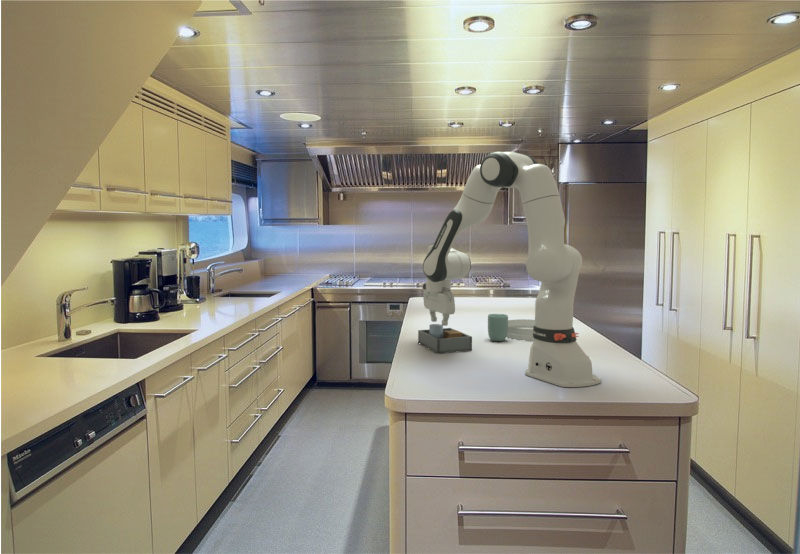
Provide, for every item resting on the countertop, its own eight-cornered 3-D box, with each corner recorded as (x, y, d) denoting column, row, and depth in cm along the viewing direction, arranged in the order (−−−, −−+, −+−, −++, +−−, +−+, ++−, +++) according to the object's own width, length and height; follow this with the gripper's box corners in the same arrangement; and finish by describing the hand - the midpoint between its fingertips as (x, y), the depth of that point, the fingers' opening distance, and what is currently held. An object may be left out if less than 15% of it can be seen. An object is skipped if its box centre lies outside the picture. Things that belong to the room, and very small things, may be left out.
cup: (506, 338, 209) (507, 313, 208) (508, 342, 201) (509, 317, 200) (486, 338, 210) (487, 313, 209) (488, 342, 202) (488, 316, 201)
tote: (471, 350, 189) (472, 336, 189) (437, 353, 185) (437, 339, 184) (450, 340, 206) (450, 327, 205) (418, 343, 201) (418, 330, 200)
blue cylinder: (444, 344, 194) (445, 326, 194) (432, 345, 193) (432, 327, 192) (439, 341, 199) (439, 323, 198) (427, 342, 197) (427, 324, 197)
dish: (563, 342, 204) (563, 329, 203) (506, 342, 204) (506, 329, 204) (548, 330, 226) (548, 319, 225) (496, 330, 226) (497, 319, 226)
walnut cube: (462, 346, 193) (462, 332, 192) (449, 347, 191) (449, 333, 190) (455, 343, 197) (456, 330, 197) (443, 344, 195) (443, 331, 195)
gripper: (459, 288, 185) (459, 327, 187) (435, 283, 205) (435, 318, 206) (443, 289, 183) (443, 328, 184) (420, 284, 202) (420, 320, 203)
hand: (439, 323), depth 195 cm, fingers open, 8 cm apart
